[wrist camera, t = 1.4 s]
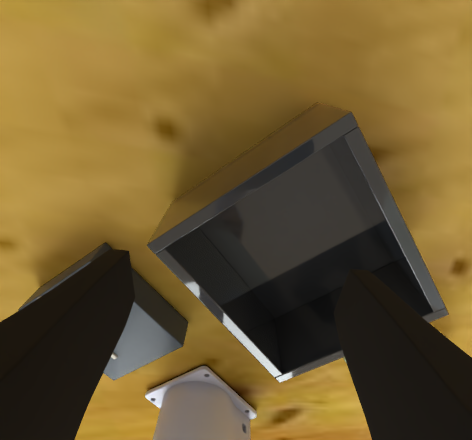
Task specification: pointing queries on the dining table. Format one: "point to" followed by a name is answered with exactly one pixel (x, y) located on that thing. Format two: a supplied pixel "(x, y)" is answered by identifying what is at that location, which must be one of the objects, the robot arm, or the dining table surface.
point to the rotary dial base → (134, 322)
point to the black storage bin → (293, 240)
